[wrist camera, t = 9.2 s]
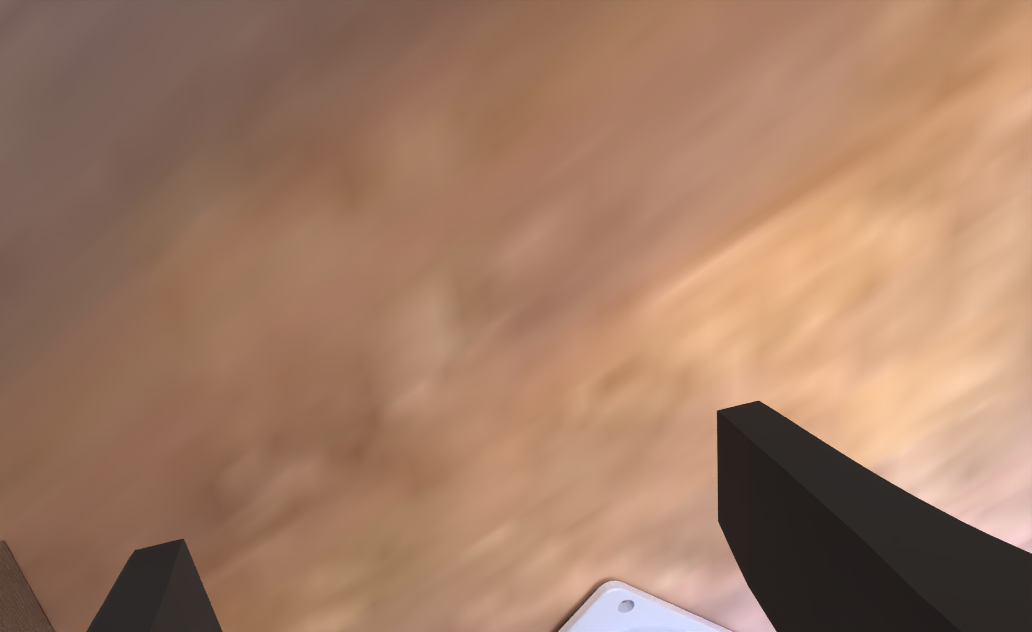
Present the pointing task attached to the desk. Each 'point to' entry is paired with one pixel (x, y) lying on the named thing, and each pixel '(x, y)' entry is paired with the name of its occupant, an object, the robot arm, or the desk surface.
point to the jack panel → (18, 599)
